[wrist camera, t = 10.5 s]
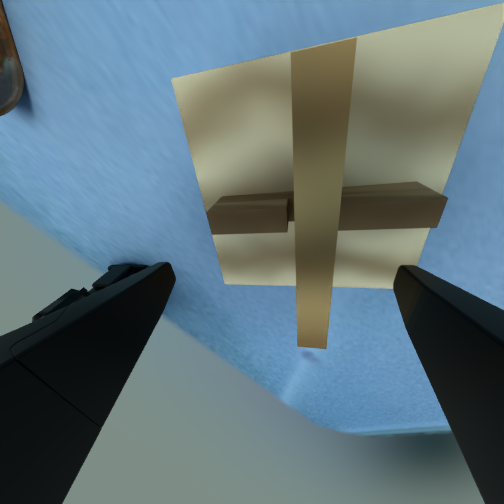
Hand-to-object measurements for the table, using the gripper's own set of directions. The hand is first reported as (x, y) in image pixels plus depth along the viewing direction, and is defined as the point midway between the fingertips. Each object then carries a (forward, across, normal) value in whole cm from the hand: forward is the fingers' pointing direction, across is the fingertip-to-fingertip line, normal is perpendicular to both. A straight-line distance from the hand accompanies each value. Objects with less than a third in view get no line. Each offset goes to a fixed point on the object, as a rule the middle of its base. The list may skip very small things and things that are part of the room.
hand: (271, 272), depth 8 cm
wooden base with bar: (+13, -2, +1) cm, 13 cm away
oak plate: (+12, -2, +1) cm, 12 cm away
